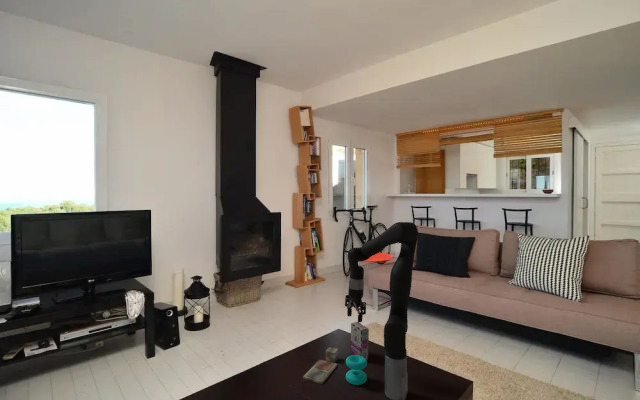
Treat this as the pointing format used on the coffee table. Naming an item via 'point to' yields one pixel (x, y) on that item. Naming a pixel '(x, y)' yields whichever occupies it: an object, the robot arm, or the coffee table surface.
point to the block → (331, 354)
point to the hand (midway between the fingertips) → (354, 319)
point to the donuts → (356, 369)
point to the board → (320, 371)
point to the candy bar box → (359, 340)
